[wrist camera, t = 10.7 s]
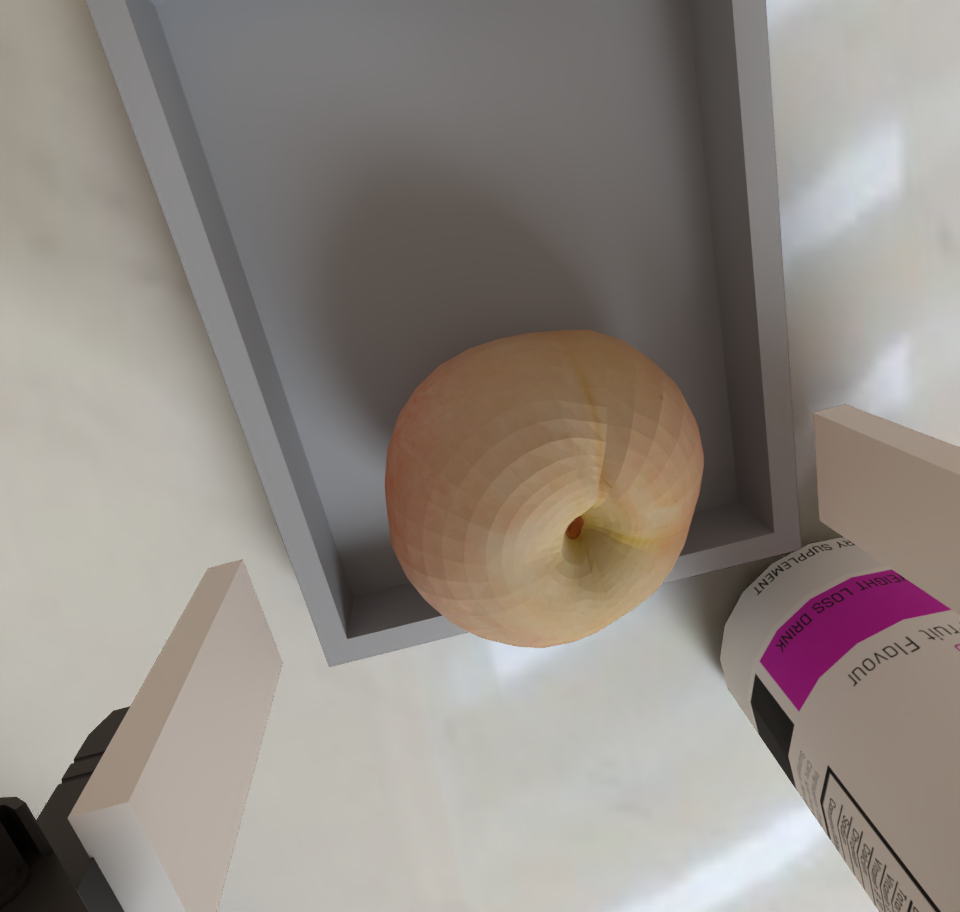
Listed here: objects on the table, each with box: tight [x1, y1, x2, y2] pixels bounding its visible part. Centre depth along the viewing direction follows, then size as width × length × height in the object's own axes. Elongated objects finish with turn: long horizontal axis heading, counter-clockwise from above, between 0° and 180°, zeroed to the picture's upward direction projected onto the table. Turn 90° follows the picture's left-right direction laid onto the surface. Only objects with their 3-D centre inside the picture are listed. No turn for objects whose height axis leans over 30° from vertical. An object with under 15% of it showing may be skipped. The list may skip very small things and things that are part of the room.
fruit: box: [385, 329, 704, 648], centre depth 17 cm, size 8×8×8 cm
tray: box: [86, 0, 801, 667], centre depth 19 cm, size 15×19×3 cm
